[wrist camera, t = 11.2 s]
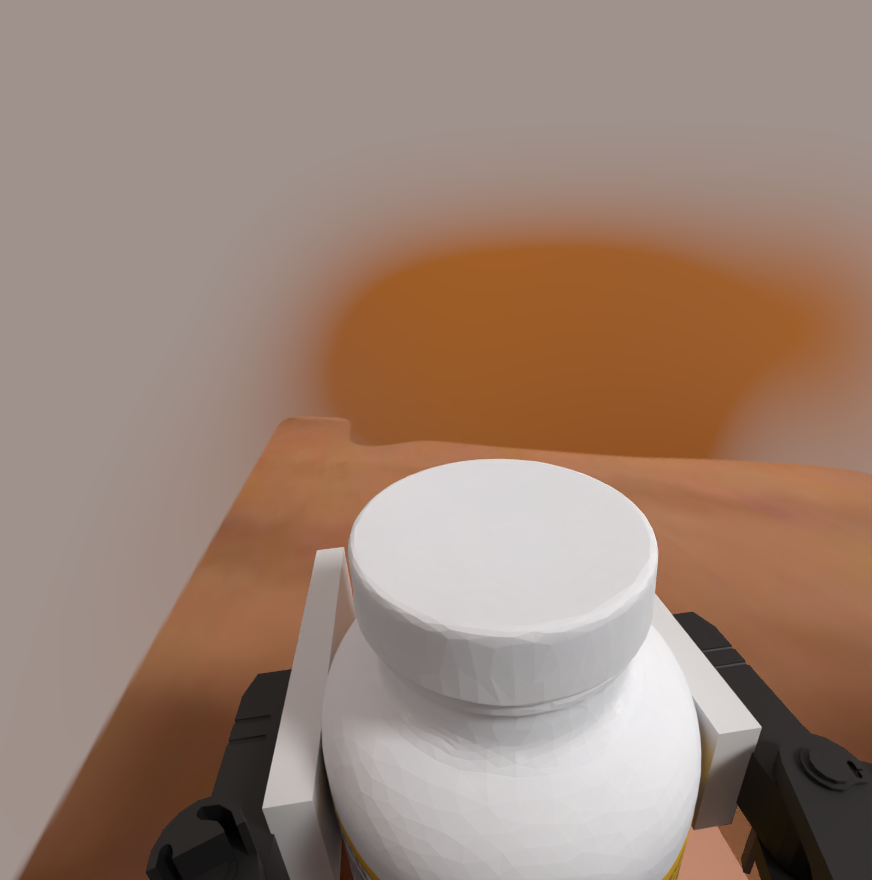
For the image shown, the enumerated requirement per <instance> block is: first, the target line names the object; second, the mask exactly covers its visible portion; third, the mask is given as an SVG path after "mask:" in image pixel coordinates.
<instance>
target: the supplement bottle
mask: <svg viewBox="0 0 872 880" xmlns="http://www.w3.org/2000/svg"><path fill="white" fill-rule="evenodd" d="M348 558H349V565H350V571H351V577H352V584H353V601H354V611H355V615H356V619H355V620H354V622H353V623H352V625H351V626H350V628H349V629H348V631H347V633H346V634H345V636H344V638H343V640H342V641H341V643H340V645H339V647H338V649H337V652H336V654H335V656H334V659H333V661H332V664H331V668H330V671H329V674H328V677H327V680H326V685H325V690H324V697H323V705H322V724H321V731H322V748H323V755H324V762H325V766H326V771H327V776H328V781H329V786H330V791H331V795H332V799H333V803H334V808H335V813H336V816H337V819H338V822H339V826H340V830H341V833H342V837H343V841H344V845H345V848H346V852H347V856H348V860H349V864H350V868H351V871H352V875H353V879H354V880H677V878H678V874H679V870H680V866H681V862H682V858H683V854H684V851H685V847H686V843H687V839H688V835H689V831H690V828H691V824H692V820H693V816H694V810H695V804H696V800H697V796H698V789H699V783H700V777H701V740H700V731H699V724H698V719H697V713H696V709H695V706H694V702H693V698H692V695H691V692H690V689H689V687H688V684H687V681H686V679H685V676H684V673H683V671H682V669H681V668H680V666H679V664H678V662H677V660H676V658H675V656H674V654H673V652H672V651H671V649H670V648H669V646H668V645H667V643H666V642H665V641H664V639H663V638H662V636H661V635H660V634H659V633H658V631H657V630H656V629H655V628H654V626H653V625H652V624H651V621H652V615H653V605H654V595H655V585H656V574H657V563H658V549H657V542H656V538H655V535H654V532H653V529H652V527H651V526H650V524H649V522H648V520H647V518H646V517H645V515H644V514H643V513H642V512H641V511H640V510H639V509H638V507H637V506H636V505H635V504H634V503H633V502H631V501H630V500H629V499H628V498H626V497H625V496H624V495H623V494H621V493H620V492H618V491H617V490H615V489H614V488H612V487H610V486H609V485H607V484H605V483H603V482H601V481H599V480H597V479H594V478H592V477H590V476H587V475H585V474H583V473H580V472H576V471H573V470H570V469H567V468H564V467H560V466H555V465H551V464H547V463H542V462H536V461H525V460H512V459H479V460H470V461H462V462H456V463H451V464H446V465H441V466H437V467H433V468H430V469H427V470H424V471H421V472H418V473H416V474H413V475H410V476H408V477H406V478H404V479H401V480H399V481H397V482H395V483H393V484H392V485H390V486H389V487H387V488H385V489H384V490H382V491H381V492H380V493H379V494H377V495H376V496H375V497H374V498H373V499H372V500H370V501H369V503H368V504H367V505H366V506H365V507H364V508H363V510H362V511H361V512H360V514H359V515H358V517H357V519H356V520H355V522H354V524H353V527H352V530H351V533H350V537H349V542H348Z"/></svg>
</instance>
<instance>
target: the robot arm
mask: <svg viewBox="0 0 872 880" xmlns="http://www.w3.org/2000/svg"><path fill="white" fill-rule="evenodd" d="M355 619H356V615H355V611H354V602H353V597H352V591H351V585H350V580H349V574H348V568H347V563H346V557H345V551H344V547H341V548H333V549H325V550H317V553H316V558H315V563H314V567H313V572H312V577H311V581H310V586H309V591H308V595H307V600H306V605H305V609H304V614H303V619H302V624H301V628H300V633H299V638H298V642H297V647H296V652H295V656H294V661H293V666H292V669H290V670H283V671H276V672H269V673H262V674H258V675H257V676H256V678H255V679H254V681H253V682H252V683H251V685H250V686H249V688H248V689H247V690H246V692H245V693H244V694H243V696H242V699H241V702H240V706H239V709H238V712H237V715H236V718H235V725H233V728H232V731H231V735H230V738H229V745H227V747H226V751H225V754H224V757H223V760H222V764H221V767H220V770H219V773H218V776H217V780H216V783H215V786H214V789H213V792H212V796H211V797H209V798H206V799H202V800H199V801H197V802H195V803H194V804H192V805H191V806H189V807H187V808H186V809H184V810H183V811H181V812H180V813H179V814H178V815H177V816H176V817H175V818H174V819H173V820H172V821H171V822H170V823H169V825H168V826H167V827H166V828H165V829H164V830H163V832H162V833H161V835H160V837H159V838H158V840H157V842H156V844H155V845H154V847H153V849H152V850H151V854H150V858H149V862H148V865H147V869H146V874H147V875H148V877H149V879H150V880H339V879H340V864H341V849H342V833H341V830H340V826H339V822H338V819H337V816H336V813H335V808H334V803H333V799H332V795H331V791H330V786H329V781H328V776H327V771H326V766H325V762H324V755H323V748H322V731H321V724H322V705H323V697H324V690H325V685H326V680H327V677H328V674H329V671H330V668H331V664H332V661H333V659H334V656H335V654H336V652H337V649H338V647H339V645H340V643H341V641H342V640H343V638H344V636H345V634H346V633H347V631H348V629H349V628H350V626H351V625H352V623H353V622H354V620H355ZM651 624H652V625H653V626H654V628H655V629H656V630H657V631H658V633H659V634H660V635H661V636H662V638H663V639H664V641H665V642H666V643H667V645H668V646H669V648H670V649H671V651H672V652H673V654H674V656H675V658H676V660H677V662H678V664H679V666H680V668H681V669H682V671H683V673H684V676H685V679H686V681H687V684H688V687H689V689H690V692H691V695H692V698H693V702H694V706H695V709H696V713H697V719H698V724H699V731H700V740H701V777H700V783H699V789H698V796H697V800H696V804H695V810H694V816H693V820H692V824H691V826H692V828H693V830H699V829H704V828H710V827H716V826H721V825H727V824H732V821H733V818H734V814H735V811H736V808H737V805H738V806H739V808H740V809H741V811H742V812H743V814H744V815H745V817H746V818H747V820H748V822H749V823H750V825H751V826H752V828H751V831H750V834H749V837H748V840H747V843H746V846H745V849H744V851H743V854H742V857H741V860H742V868H743V873H747V874H750V872H751V869H752V867H753V864H754V861H755V862H756V865H757V869H758V872H759V876H760V878H761V880H872V764H870V763H866V762H863V761H859V760H858V759H857V758H855V757H854V756H853V755H852V754H851V753H849V752H848V751H847V750H846V749H845V748H843V747H841V746H839V745H838V744H836V743H834V742H832V741H830V740H828V739H827V738H824V737H821V736H817V735H814V734H811V733H810V732H809V731H808V730H807V729H806V728H805V727H804V726H803V725H802V724H801V723H800V722H799V721H798V720H797V719H796V717H795V716H794V715H793V714H792V713H791V712H790V711H789V710H788V708H787V707H786V706H785V705H784V704H783V703H782V702H781V701H780V699H779V698H778V697H777V696H776V695H775V694H774V693H773V692H772V690H771V689H770V688H769V687H768V686H767V685H766V684H765V682H764V681H763V680H762V679H761V678H760V677H759V676H758V675H757V673H756V672H755V671H754V670H753V669H752V668H751V667H750V666H749V665H747V664H746V662H745V660H744V659H743V658H742V657H741V655H740V654H739V653H738V652H737V651H736V650H735V649H732V645H731V644H730V643H729V642H728V641H727V640H726V639H725V637H724V636H723V635H722V634H721V633H720V632H719V631H718V629H717V628H716V627H715V626H713V625H712V624H710V623H709V622H707V621H706V620H704V619H703V618H701V617H700V616H698V615H697V614H695V613H694V612H687V613H680V614H671V613H670V612H669V610H668V609H667V608H666V606H665V605H664V604H663V603H662V601H661V600H660V599H659V598H658V596H657V595H656V594H655V595H654V605H653V615H652V621H651Z"/></svg>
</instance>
